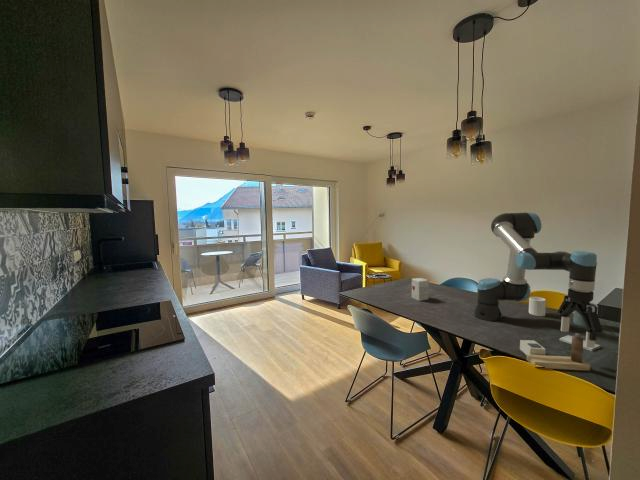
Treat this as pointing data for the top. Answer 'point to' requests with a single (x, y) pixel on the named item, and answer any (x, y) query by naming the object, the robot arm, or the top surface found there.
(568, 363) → the batten
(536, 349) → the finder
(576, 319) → the grey round pot
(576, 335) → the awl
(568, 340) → the hard drive
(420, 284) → the supplement box
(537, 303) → the mug
